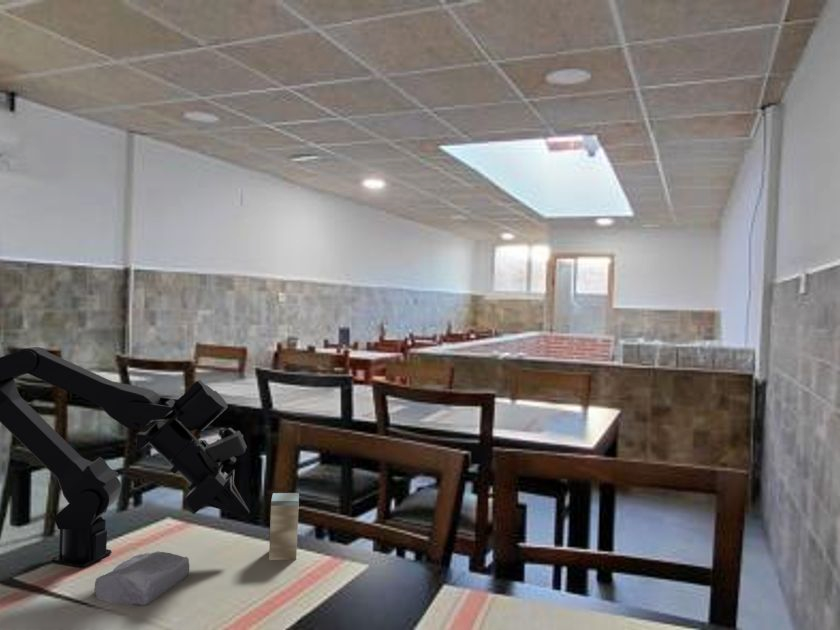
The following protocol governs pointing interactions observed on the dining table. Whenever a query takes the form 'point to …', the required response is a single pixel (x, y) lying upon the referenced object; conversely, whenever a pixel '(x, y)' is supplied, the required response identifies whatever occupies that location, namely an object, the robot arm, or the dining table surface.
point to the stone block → (142, 578)
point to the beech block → (284, 526)
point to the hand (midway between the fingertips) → (247, 514)
